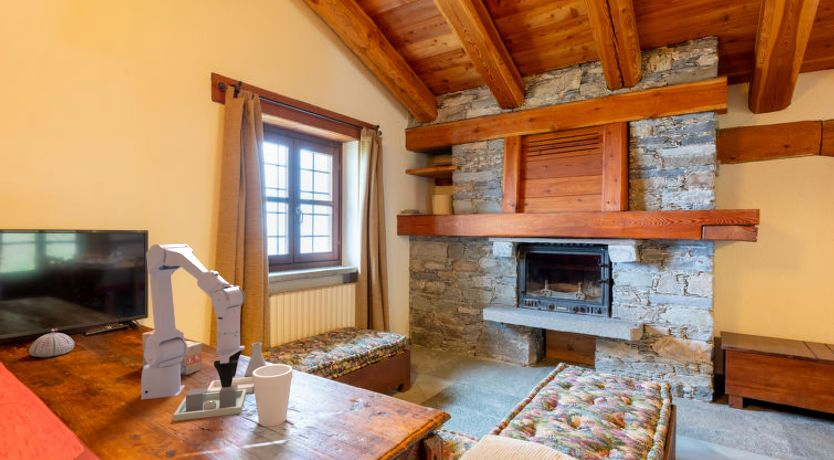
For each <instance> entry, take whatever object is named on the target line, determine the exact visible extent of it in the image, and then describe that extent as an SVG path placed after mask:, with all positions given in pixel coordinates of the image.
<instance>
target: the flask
mask: <svg viewBox="0 0 834 460" xmlns="http://www.w3.org/2000/svg"><path fill="white" fill-rule="evenodd" d="M262 345H263V343H262V342H254V343H252V344H250V346H251V347H252V348H251V349H252V350H251V355H250V359H249V361H248V364H247V368H246V369H245V373H244V376H245V377H252V373H253V371H254V370H256V369H257V368H259V367H263V366H267V364H266V361H265V359H264V356H263V353H262V352H263V351H262Z"/></svg>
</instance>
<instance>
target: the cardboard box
mask: <svg viewBox="0 0 834 460" xmlns="http://www.w3.org/2000/svg"><path fill="white" fill-rule="evenodd" d="M154 331H155V330H154V329H153V330H151V331H147V332H143V333H141V334H142V337H141V338H142V340H141V341H142V344H141V345H142V346H141V348H142V368H144V366H145V365H149V364H148V363H147V362H146V360H145V358H144V352H145V348H146V340H147V339H148V338H149V337H150V336H151V335H152V334H153V333H154ZM168 340H170V339H168ZM164 341H166V340H164ZM185 341H186V343H187V352H186V354H185V356H183V360H182V361H180V369H181V375H182V376H183V375H184V376H187V375H188V376H189V375H190V374H192V373H195V372H198V371H201V370H202V358H203V357H202V352H203V344H202V342H196V341H188V340H185Z"/></svg>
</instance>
